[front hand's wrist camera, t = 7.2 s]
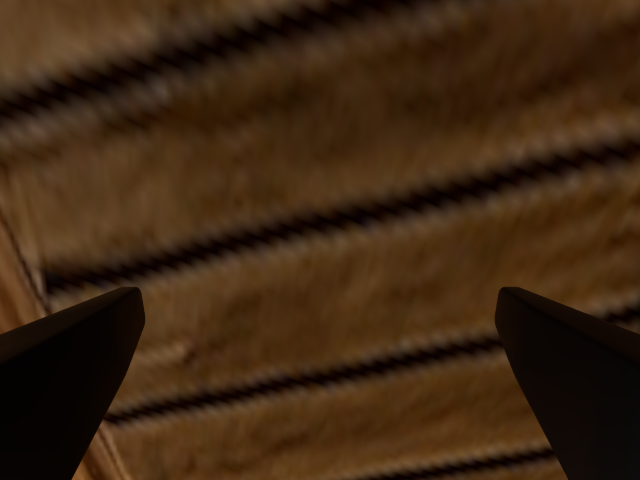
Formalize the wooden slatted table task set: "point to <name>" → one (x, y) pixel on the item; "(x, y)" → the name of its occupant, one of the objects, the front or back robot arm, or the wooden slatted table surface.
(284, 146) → the wooden slatted table surface
